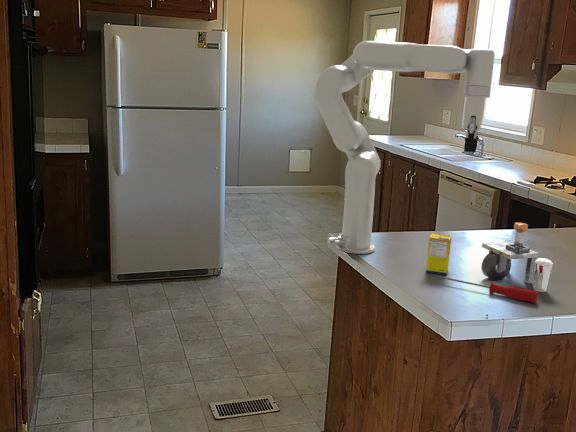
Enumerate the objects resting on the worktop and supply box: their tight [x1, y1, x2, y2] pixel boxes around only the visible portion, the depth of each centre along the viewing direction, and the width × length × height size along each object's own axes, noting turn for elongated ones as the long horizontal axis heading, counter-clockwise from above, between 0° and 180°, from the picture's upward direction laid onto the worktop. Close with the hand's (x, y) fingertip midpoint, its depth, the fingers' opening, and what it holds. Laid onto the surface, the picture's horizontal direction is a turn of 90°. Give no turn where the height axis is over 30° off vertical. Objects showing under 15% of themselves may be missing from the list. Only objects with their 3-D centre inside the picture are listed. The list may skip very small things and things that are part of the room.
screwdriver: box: [442, 276, 539, 304], centre depth 163 cm, size 4×25×4 cm, turn 60°
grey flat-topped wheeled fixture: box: [481, 241, 539, 285], centre depth 174 cm, size 13×12×10 cm
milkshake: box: [532, 257, 556, 293], centre depth 166 cm, size 4×5×10 cm
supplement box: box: [425, 232, 452, 276], centre depth 178 cm, size 6×6×11 cm
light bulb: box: [513, 222, 529, 249], centre depth 171 cm, size 4×4×7 cm
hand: (470, 150), depth 181 cm, fingers open, 9 cm apart
